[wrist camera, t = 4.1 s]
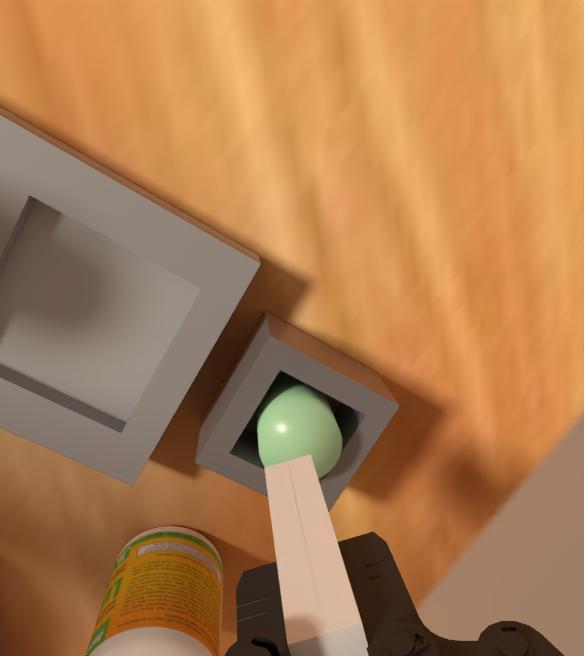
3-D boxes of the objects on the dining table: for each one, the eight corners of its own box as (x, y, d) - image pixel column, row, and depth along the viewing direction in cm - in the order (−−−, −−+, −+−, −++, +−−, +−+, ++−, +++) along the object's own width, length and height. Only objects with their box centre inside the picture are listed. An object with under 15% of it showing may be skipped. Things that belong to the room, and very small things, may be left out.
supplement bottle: (117, 519, 26) (50, 709, 17) (228, 524, 27) (223, 709, 17) (113, 610, 27) (48, 832, 18) (218, 613, 28) (209, 829, 19)
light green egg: (242, 417, 24) (243, 461, 20) (278, 357, 24) (286, 393, 20) (302, 446, 25) (314, 496, 21) (339, 390, 24) (357, 430, 20)
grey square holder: (201, 419, 25) (194, 462, 21) (265, 310, 24) (270, 335, 20) (310, 471, 26) (322, 521, 22) (375, 371, 25) (400, 405, 21)
